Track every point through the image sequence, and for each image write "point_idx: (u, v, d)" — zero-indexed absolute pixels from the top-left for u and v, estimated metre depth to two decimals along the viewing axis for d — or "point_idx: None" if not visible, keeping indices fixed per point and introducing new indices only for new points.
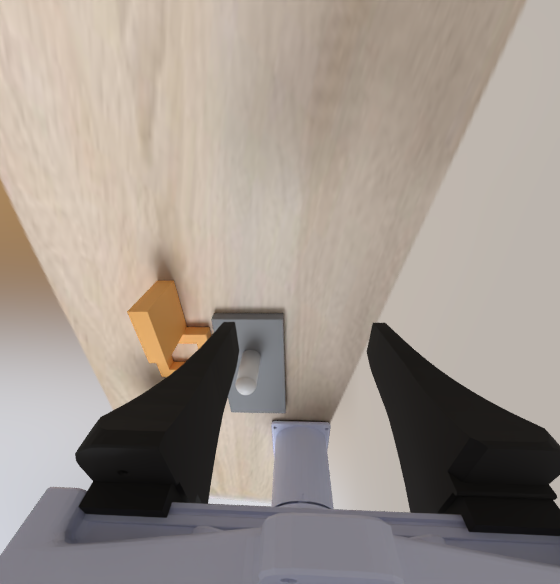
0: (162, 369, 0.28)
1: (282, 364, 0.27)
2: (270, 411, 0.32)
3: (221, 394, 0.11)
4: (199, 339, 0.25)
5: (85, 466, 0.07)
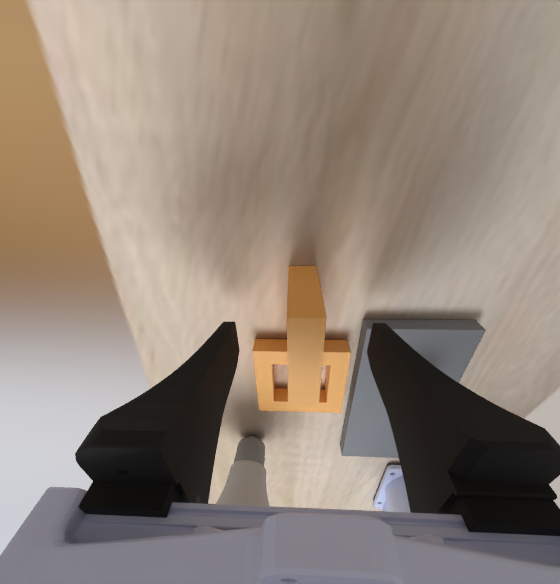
0: (263, 400, 0.19)
1: None
2: None
3: (221, 394, 0.11)
4: (337, 359, 0.16)
5: (85, 466, 0.07)
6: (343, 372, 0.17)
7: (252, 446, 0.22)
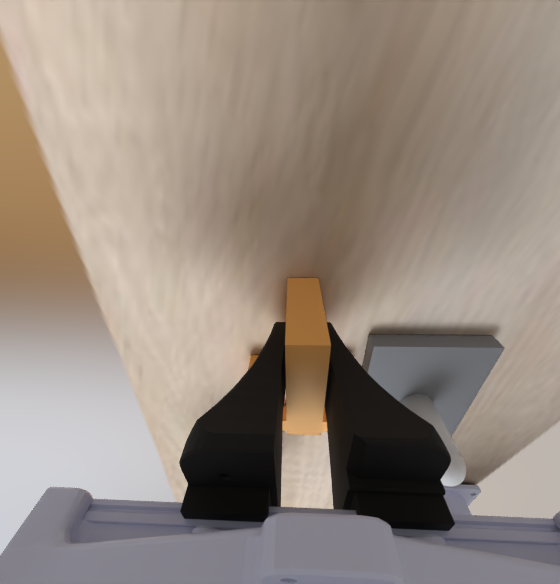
0: None
1: (461, 415, 0.17)
2: None
3: (282, 395, 0.11)
4: None
5: (187, 470, 0.06)
6: None
7: None
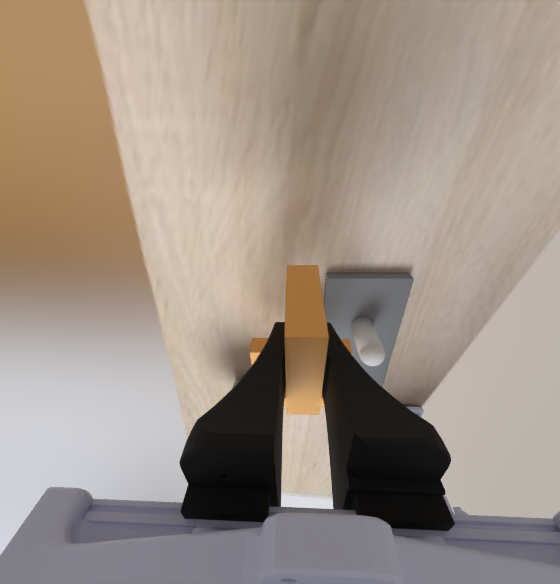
0: None
1: (395, 335, 0.24)
2: None
3: (283, 395, 0.11)
4: None
5: (187, 470, 0.06)
6: None
7: None
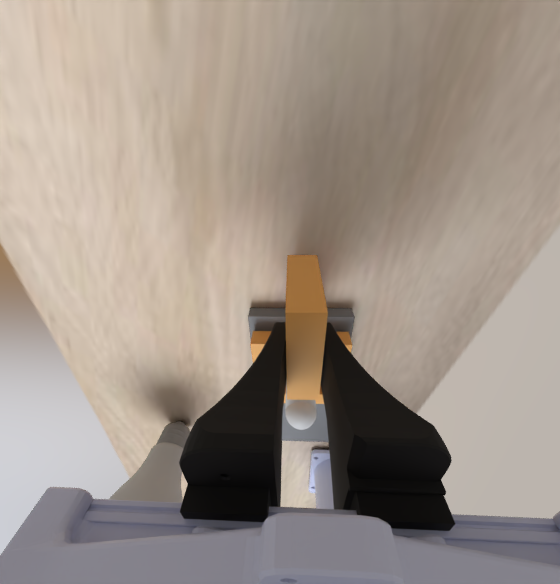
0: None
1: None
2: (314, 439, 0.24)
3: (282, 395, 0.11)
4: None
5: (187, 470, 0.06)
6: None
7: (174, 430, 0.23)
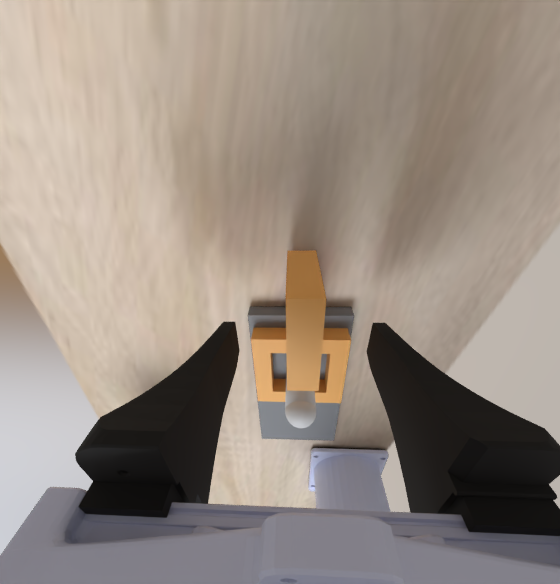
0: (262, 391, 0.19)
1: None
2: (314, 438, 0.24)
3: (221, 394, 0.11)
4: (337, 347, 0.16)
5: (85, 466, 0.07)
6: (343, 361, 0.17)
7: None
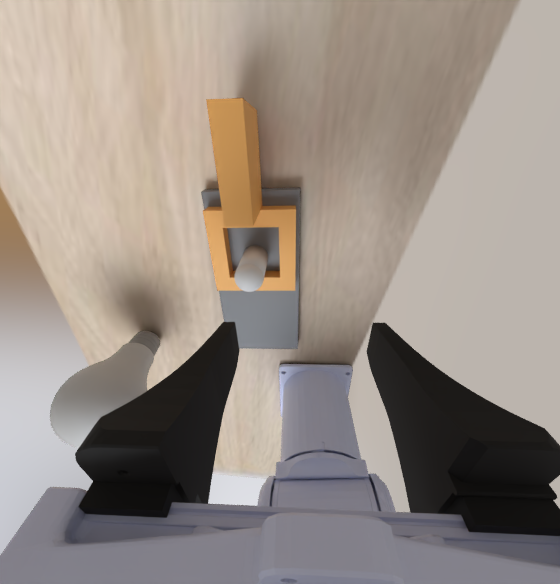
0: (220, 277, 0.20)
1: (296, 269, 0.20)
2: (278, 346, 0.25)
3: (221, 394, 0.11)
4: (284, 218, 0.17)
5: (85, 466, 0.07)
6: (291, 236, 0.18)
7: (143, 335, 0.24)
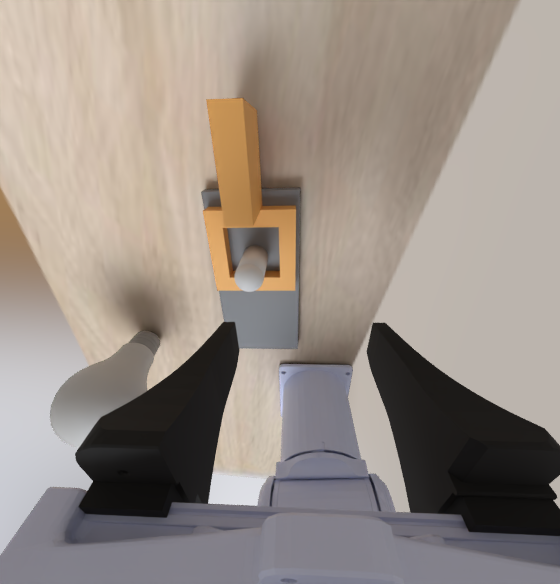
0: (220, 277, 0.20)
1: (296, 269, 0.20)
2: (278, 346, 0.25)
3: (221, 394, 0.11)
4: (284, 218, 0.17)
5: (85, 466, 0.07)
6: (291, 236, 0.18)
7: (143, 335, 0.24)
